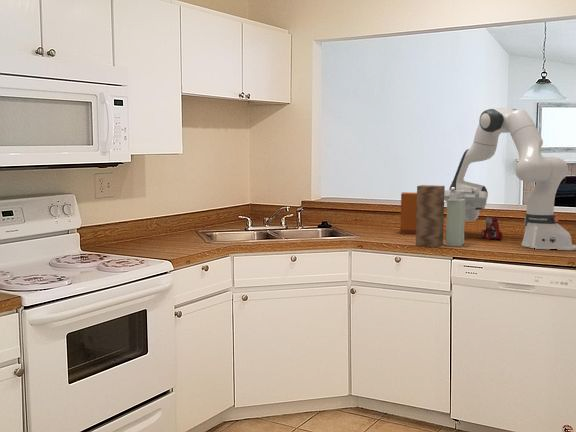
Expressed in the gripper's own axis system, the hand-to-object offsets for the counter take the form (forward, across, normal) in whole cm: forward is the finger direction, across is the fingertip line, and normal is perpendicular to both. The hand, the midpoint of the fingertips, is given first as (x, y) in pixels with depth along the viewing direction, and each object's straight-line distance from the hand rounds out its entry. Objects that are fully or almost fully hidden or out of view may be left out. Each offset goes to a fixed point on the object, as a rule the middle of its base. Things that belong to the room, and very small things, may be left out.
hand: (462, 189), depth 314 cm
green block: (+1, 0, +28) cm, 28 cm away
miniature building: (-24, -28, +14) cm, 39 cm away
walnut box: (+6, -10, +31) cm, 33 cm away
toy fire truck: (-21, +12, +15) cm, 29 cm away
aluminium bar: (+9, 0, +9) cm, 13 cm away
